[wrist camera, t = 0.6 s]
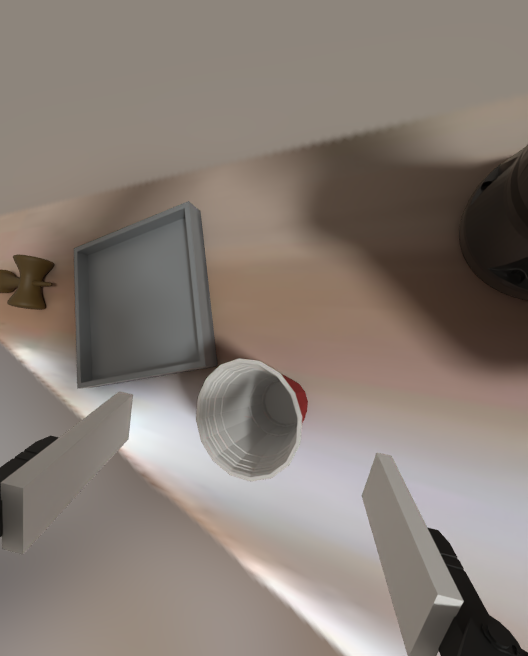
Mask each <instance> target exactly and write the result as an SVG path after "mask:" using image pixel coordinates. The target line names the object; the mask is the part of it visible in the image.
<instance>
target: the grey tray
mask: <svg viewBox="0 0 528 656" xmlns="http://www.w3.org/2000/svg"><path fill="white" fill-rule="evenodd" d="M74 277H75V314H76V352H77V389H78V388H90V387H98V386H104V385H110V384H116V383H122V382H128V381H134V380H140V379H145V378H151V377H157V376H163V375H169V374H175V373H181V372H186V371H192V370H198V369H204V368H210V367H216V366H217V357H216V348H215V339H214V330H213V321H212V312H211V303H210V294H209V285H208V276H207V267H206V257H205V248H204V239H203V230H202V221H201V212H200V210H198V209H197V208H196V207H195V206H194V205H192V204H191V203H190V202H189V201H188V202H186V203H183V204H181V205H178V206H176V207H173V208H171V209H169V210H166V211H164V212H161V213H159V214H156V215H154V216H152V217H149V218H147V219H144V220H142V221H139V222H137V223H134V224H132V225H130V226H127V227H125V228H122V229H120V230H117V231H115V232H113V233H110V234H108V235H105V236H103V237H100V238H98V239H96V240H93V241H91V242H88V243H86V244H83V245H81V246H79V247H76V248H74Z"/></svg>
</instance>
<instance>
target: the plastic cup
mask: <svg viewBox="0 0 528 656" xmlns="http://www.w3.org/2000/svg"><path fill="white" fill-rule="evenodd" d="M307 404H308V401H307V397H306V394H305V391H304V390H303V389H302V387H301V386H300V385H299V384H298V383H297V382H295V381H293V380H292V379H290V378H288V377H286V376H284V375H282V374H281V373H279V372H277V371H276V370H274V369H272V368H271V367H269V366H267V365H266V364H264V363H262V362H261V361H256V360H248V359H236V360H233V361H230V362H227V363H224V364H221V365H220V366H219V367H218V368H217V369H216V370H215V371H213V372H212V373H211V374H210V375H209V376H208V377H207V378H206V380H205V382H204V384H203V387H202V389H201V391H200V393H199V396H198V400H197V412H196V422H197V426H198V430H199V434H200V439H201V442H202V444H203V445H204V447H205V449H206V450H207V452H208V454H209V455H210V457H211V459H212V460H213V461H214V462H215V463H216V464H217V465H219V466H220V467H221V468H222V469H223V470H225V471H226V472H227V473H228V474H229V475H232V476H235V477H238V478H241V479H244V480H247V481H257V480H264V479H270V478H273V477H274V476H275V475H277V474H278V473H279V472H281V471H282V470H283V469H285V468H286V467H287V466H289V465H290V463H291V461H292V459H293V457H294V455H295V453H296V451H297V449H298V447H299V445H300V442H301V429H302V423H303V421H304V418H305V414H306V412H307Z"/></svg>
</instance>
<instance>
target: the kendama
mask: <svg viewBox="0 0 528 656" xmlns="http://www.w3.org/2000/svg"><path fill="white" fill-rule="evenodd" d="M13 258H14V261H15V263H16V265H17V267H18V269H19V272H20V278H17V277H16V276H15V275H14V274H13V273H12V272H10V271H7V270H0V293H9V292H12V291H13V290H14V289H15V288H16V287H18V288H17V290H16V292H15V293H14V294H13V295H12V296H11V298H10V299H9V300H8V302H7V303H8V304H9V305H11V306H15V307H20V308H26V309H37V310H42V309H45V308H46V307H45V303H44V301H43V298H42V295H41V286H52V283H49V282H42V279H43V277H44V276H45V275H46V274H47V272H48V271H50V270H51V268H52V267H53V266H54V264H53V263H52V262H50V261H47V260H44V259H41V258H37V257H32V256H27V255H14V256H13Z"/></svg>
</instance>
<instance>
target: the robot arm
mask: <svg viewBox="0 0 528 656" xmlns="http://www.w3.org/2000/svg"><path fill="white" fill-rule="evenodd" d="M459 237H460V245H461V249H462V252H463V255H464V257H465V259H466V261H467V263H468V265H469V266H470V268H471V269H472V270H473V271H474V273H475V274H476V275H477V276H478V277H479V278H480V279H482V280H483V281H484V282H485V283H487V284H488V285H490V286H491V287H493V288H495V289H496V290H498V291H500V292H502V293H505V294H507V295H510V296H513V297H516V298H520V299H524V300H528V144H527V146H526V147H525V148H523V149H522V150H520V151H519V152H518V153H516V154H515V155H513V156H512V157H510V158H509V159H508V160H506V161H505V162H503V163H502V164H500V165H499V166H498V167H497V168H495V169H494V170H493V171H492V172H491V173H490V174H489V175H488V176H487V177H486V178H485V179H484V180H483V181H482V182H481V184H480V185H479V186H478V187H477V189H476V190H475V192H474V193H473V195H472V197H471V199H470V201H469V203H468V204H467V206H466V208H465V211H464V213H463V216H462V219H461V223H460V231H459ZM132 399H133V395H132V394H128V393H123V392H118V393H117V394H115V395H114V396H113V397H111V398H110V399H109V400H108V401H106V402H105V403H104V404H102V405H101V406H100V407H98V408H97V409H96V410H95V411H93V412H92V413H91V414H89V415H88V416H87V417H85V418H84V419H83V420H81V421H80V422H79V423H78V424H76V425H75V426H74V427H72V428H71V429H70V430H68V431H67V432H66V433H65V434H63V435H62V436H61V437H59V438H58V437H54V436H49V437H46V438H44V439H42V440H39V441H37V442H35V443H34V444H32V445H31V446H30V447H28V448H27V449H25V451H24V452H21V453H20V454H18V455H17V456H16V457H15V458H14V459H11V460H10V461H9V462H7V463H6V464H4V465H3V466H2V467H0V537H1V536H2V549H4V550H8V551H12V552H15V553H19V554H24V553H25V552H26V551H27V550H28V549H29V548H30V547H31V545H32V544H33V543H34V542H35V541H36V540H37V539H38V538H39V537H40V536H41V534H42V533H43V532H44V531H45V530H46V529H47V528H48V527H49V526H50V525H51V523H52V522H53V521H54V520H55V519H56V518H57V517H58V516H59V515H60V514H61V513H62V511H63V510H64V509H65V508H66V507H67V506H68V505H69V504H70V503H71V502H72V500H73V499H74V498H75V497H76V496H77V495H78V494H79V493H80V492H81V490H82V489H83V488H84V487H85V486H86V485H87V484H88V483H89V482H90V481H91V480H92V478H93V477H94V476H95V475H96V474H97V473H98V472H99V471H100V470H101V468H102V467H103V466H104V465H105V464H106V463H107V462H108V461H109V460H110V459H111V458H112V456H113V455H114V454H115V453H116V452H117V451H118V450H119V449H120V448H121V447H122V446H123V444H124V443H125V442H126V441H127V440H128V438H129V428H130V419H131V409H132ZM362 498H363V502H364V505H365V509H366V512H367V516H368V519H369V523H370V526H371V530H372V533H373V537H374V540H375V544H376V547H377V551H378V554H379V557H380V561H381V564H382V568H383V571H384V575H385V578H386V582H387V585H388V589H389V592H390V596H391V599H392V603H393V606H394V610H395V613H396V616H397V620H398V623H399V627H400V630H401V634H402V637H403V641H404V644H405V648H406V651H407V655H408V656H436V655H437V653H438V651H439V652H440V655H441V656H528V652H526V651H524V650H523V649H521V647H520V645H519V643H518V642H517V640H516V639H515V638H514V637H513V635H512V634H511V633H510V631H509V630H508V629H506V628H505V627H504V626H503V625H502V624H501V623H500V622H499V621H497V620H496V619H494V618H493V617H491V616H490V615H489V614H488V612H487V610H486V609H485V607H484V605H483V603H482V601H481V599H480V598H479V596H478V594H477V592H476V590H475V589H474V587H473V585H472V583H471V581H470V579H469V578H468V576H467V574H466V572H465V571H464V570H463V569H464V568H463V567H462V565H461V563H460V561H459V560H458V559H457V556H456V554H455V552H454V550H453V548H452V547H451V545H450V543H449V542H448V541H447V540H446V539H445V537H444V536H443V535H442V534H441V533H440V532H439V531H438V530H435V529H431V528H427V526H426V524H425V522H424V520H423V518H422V516H421V514H420V512H419V510H418V508H417V506H416V504H415V502H414V500H413V498H412V496H411V494H410V492H409V490H408V488H407V486H406V484H405V482H404V480H403V478H402V476H401V474H400V472H399V470H398V468H397V466H396V464H395V462H394V460H393V458H392V456H390V455H385V454H381V453H376V456H375V459H374V462H373V465H372V468H371V471H370V474H369V476H368V479H367V482H366V485H365V488H364V491H363V494H362Z"/></svg>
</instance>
